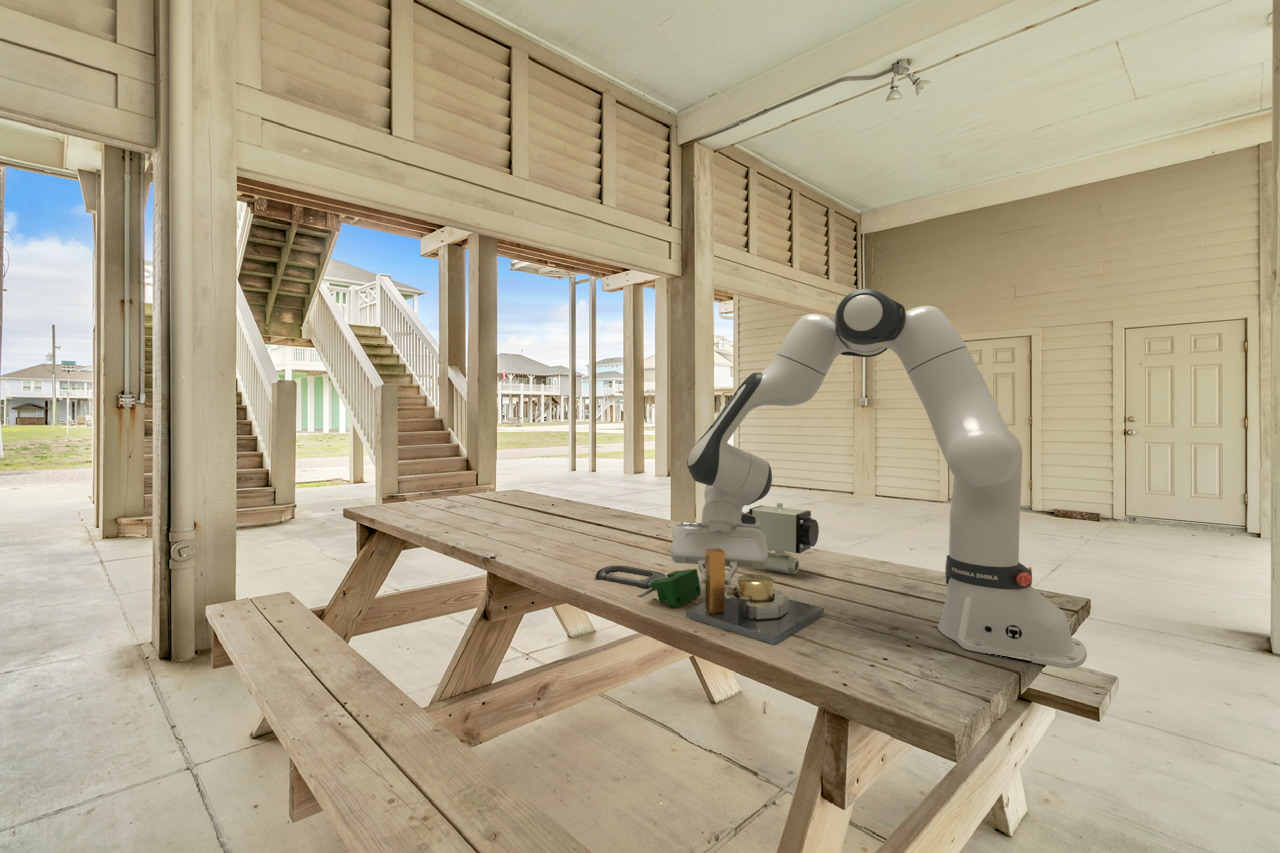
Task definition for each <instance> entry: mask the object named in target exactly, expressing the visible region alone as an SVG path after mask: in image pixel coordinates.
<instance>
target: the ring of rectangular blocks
mask: <svg viewBox="0 0 1280 853" xmlns="http://www.w3.org/2000/svg"><path fill="white" fill-rule="evenodd" d="M705 571H706V577H705V583H704V584H705V585H704V586H705V591H704V592H705V593H704V594H705V595H704V596H705V600H704V602H705V608H706V609H707V610H708V612H709V613H720V612H724V601H725V600H727V599H729V598H731V597H735V598H738V585H735V584H731V585H725V574H726V566H725V552H724V551H723V550H722V549H720V548H714V549H706V568H705ZM739 599H744V600H746V618H751V619H754V618H756V619H767V618H778V617H781V616H783V615H784V614H785V613H786V612H787V611H789V599H790V597H789V596H788V595H786V594H785V593H783V592H782V591H781V590H778V589H776V588H773V602H765V603H752V602H750V597H746V596H742V597H740V598H739Z"/></svg>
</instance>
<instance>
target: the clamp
mask: <svg viewBox="0 0 1280 853" xmlns="http://www.w3.org/2000/svg"><path fill="white" fill-rule="evenodd" d="M666 576H667V578H665V579H658V580H654V581H652V582H650V583H651V588H652V589H653V590H654V591H655V589H657V590H656V592H657V597H658V601H659V600H660V601H659V602H666V604H667V606H668V607H670V608H674V607H681V606H683V605H684V604H686V603H688V602H690V601H691V600H693V599H695V598H696V597H698V596H700V595H701V593H702V592H701V591H702V587H701V583H700V579H699V578H700V577H699V573H698V570H697V568H693V569H683V570H675V571H671V572H670V573H668V574H666ZM653 590H652V591H653Z"/></svg>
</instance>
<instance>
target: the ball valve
mask: <svg viewBox="0 0 1280 853" xmlns="http://www.w3.org/2000/svg"><path fill="white" fill-rule="evenodd" d="M746 513H747V514H750V515H753V516H756V517H759V518H760V519H761V521H762V526H763V532H764V534H765V536H766V541H767V549H768V565H767V566H766V567H765V568H764V570H765V571H768V570H769V572H774V573H779V572H780V573H781V574H784V573H785V575H790V574H791V573H792V574H791V575H794V574H797V573H798V572H799V568H800V560H799V558H798V557H796V558H795V557H794V556H793V555H791V553H793V554H799V555H800V554H802V553H804V552H806V551H808V550H810V549H811V548H813V547H815V546H816V544H817V542H818V539H819V533H820V532H819V530H820V528H819V527H820V526H819V523H818V521H817V519H815V518H813V517H812V511H811V510H807V509H798V508H787V507H784V504H783V502H777V503H776V506H770V505H764V504H763V505H762V504H761V505H758V506H757V505H756V506H755V507H751V508H749V509H748V511H746ZM772 551H774V552H772ZM780 573H779V574H780Z"/></svg>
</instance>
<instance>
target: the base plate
mask: <svg viewBox="0 0 1280 853" xmlns="http://www.w3.org/2000/svg"><path fill="white" fill-rule="evenodd" d="M737 587H738V598H735V597H731V598H729V599H727V600H725V601H724V612H720V613H709V612H708V610H707V609H706V608H705V601H703V602H702V603H701V602H700V603H698V604H696V605H694V606H692V607H689V608H687V609H685V612H684V613H685V614H684V615H685V616H686V617H689V618H688V619H690V618H692V619H691V620H693V619H695V620H694V621H696V620H698V621H697V622H699V621H701V622H700V623H702V622H704V623H703V624H705V623H707V624H706V625H709V624H710V626H712V625H713V627H715V628H719V629H720V630H721V629H722V630H725V631H729V632H731V633H735V634H737V635H741V636H743V637H747V638H751V639H753V640H757V641H759V642H763V643H767V644H769V645H773V646H776V645H778V643H780V642H782V641H783V640H786V639H787V638H789V637H790V636H792V635H794V634H795V633H797V632H798V631H800V630H802V629H804V628H805V627H807V626H809V625H810V624H812V623H813V622H815V621H817V620H818V619H820V618H822V617H823V616H825V607H822V606H817V605H814V604H811V603H806V602H801V601H798V600H794V599H790V598H789V611H787V612H786V613H785V614H784V615H783V616H781V617H778V618H767V619H756V618H754V619H751V618H746V600H744V599H739V598H740V597H742V596H746V597H750V602H752V603H765V602H773V589H774V580H773V578H771V576H770V577H769V576H766V575H763V574H753V573H751V574H744V575H743V574H742V575H740V576H738V577H737ZM686 617H685V618H686Z"/></svg>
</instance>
